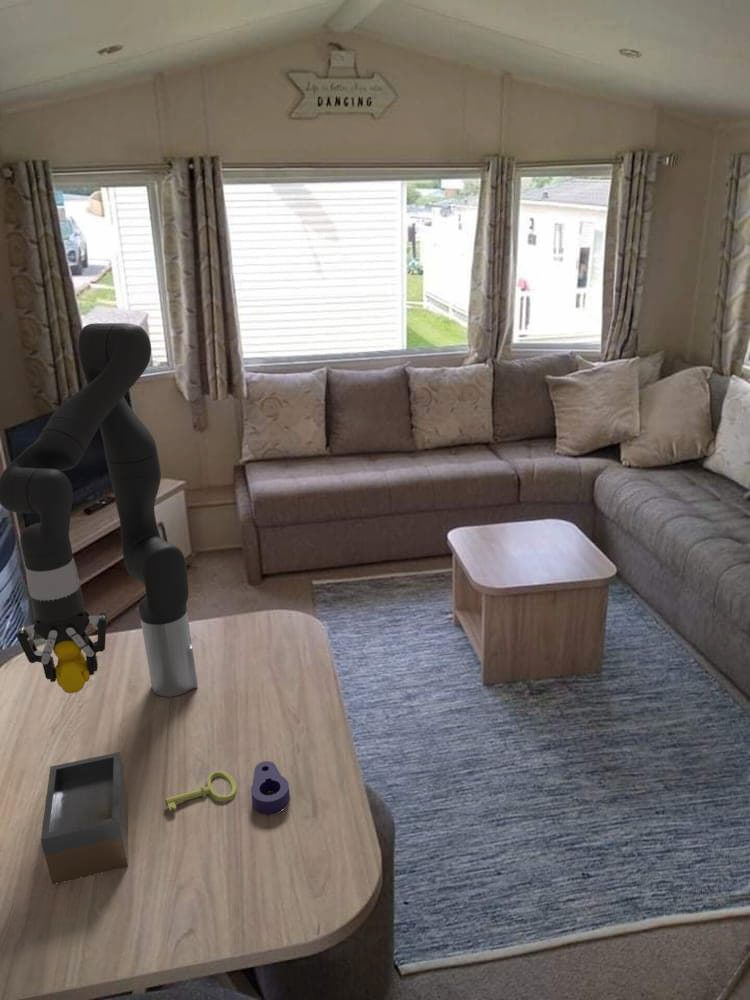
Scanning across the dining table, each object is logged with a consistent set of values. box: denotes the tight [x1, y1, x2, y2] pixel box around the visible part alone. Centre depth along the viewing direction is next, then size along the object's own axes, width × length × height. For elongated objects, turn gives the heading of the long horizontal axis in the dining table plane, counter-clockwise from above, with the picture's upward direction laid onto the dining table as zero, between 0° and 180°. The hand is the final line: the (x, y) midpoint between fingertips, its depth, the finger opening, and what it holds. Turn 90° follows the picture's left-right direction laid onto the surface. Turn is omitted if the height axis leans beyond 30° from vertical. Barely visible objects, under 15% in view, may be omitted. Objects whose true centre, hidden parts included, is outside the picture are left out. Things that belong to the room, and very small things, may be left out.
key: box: [164, 770, 238, 812], centre depth 131 cm, size 7×12×2 cm, turn 136°
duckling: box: [52, 641, 91, 694], centre depth 127 cm, size 11×5×10 cm, turn 21°
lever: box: [250, 760, 291, 816], centre depth 132 cm, size 12×6×3 cm, turn 15°
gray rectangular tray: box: [40, 751, 129, 886], centre depth 122 cm, size 11×16×9 cm
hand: (72, 675), depth 128 cm, fingers closed on duckling, 5 cm apart
